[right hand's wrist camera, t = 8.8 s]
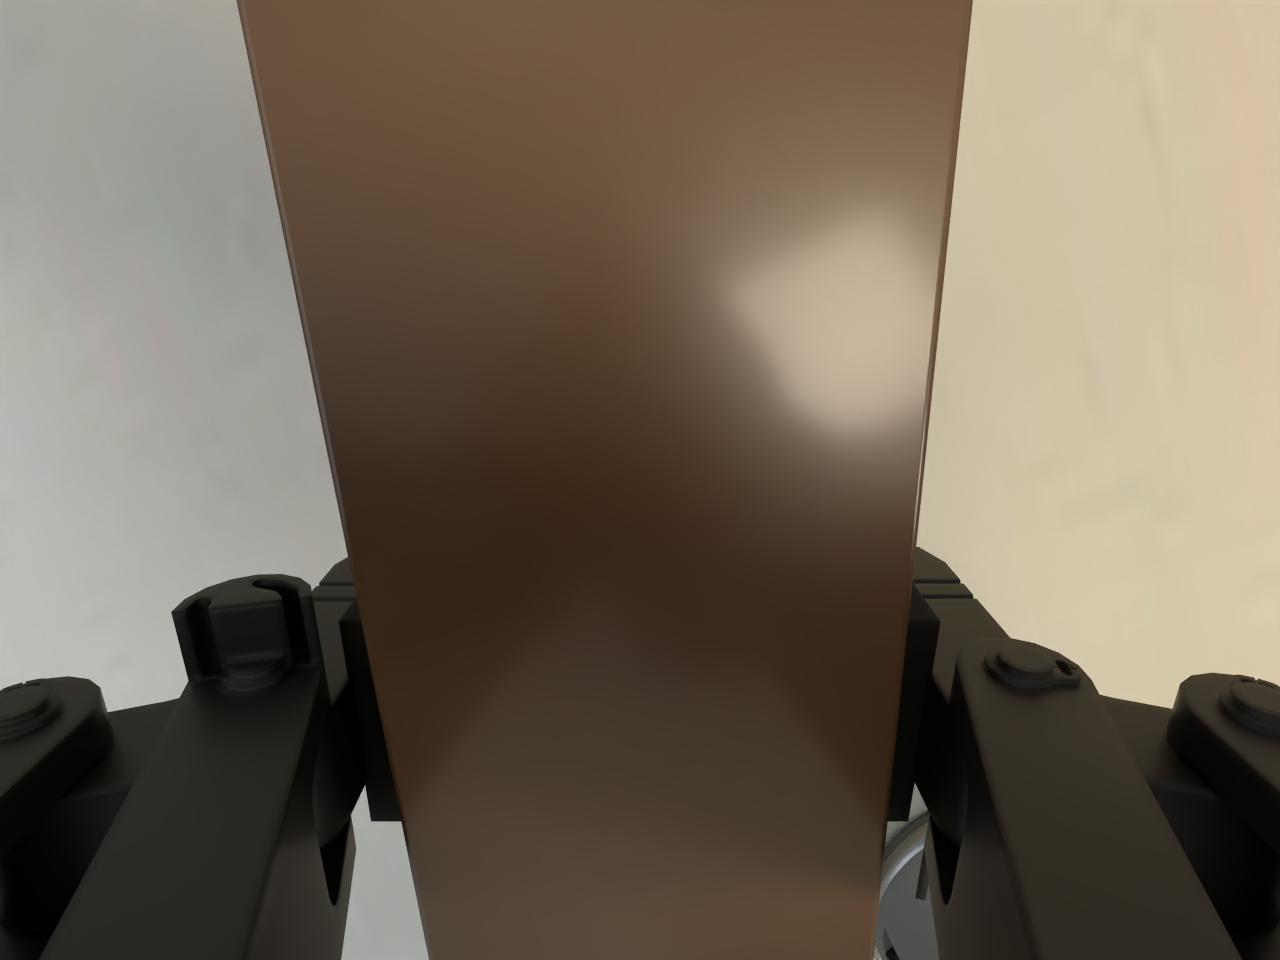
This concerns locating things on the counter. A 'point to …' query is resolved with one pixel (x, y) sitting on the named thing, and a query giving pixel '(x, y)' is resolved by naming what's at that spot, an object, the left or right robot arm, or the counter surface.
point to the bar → (626, 440)
